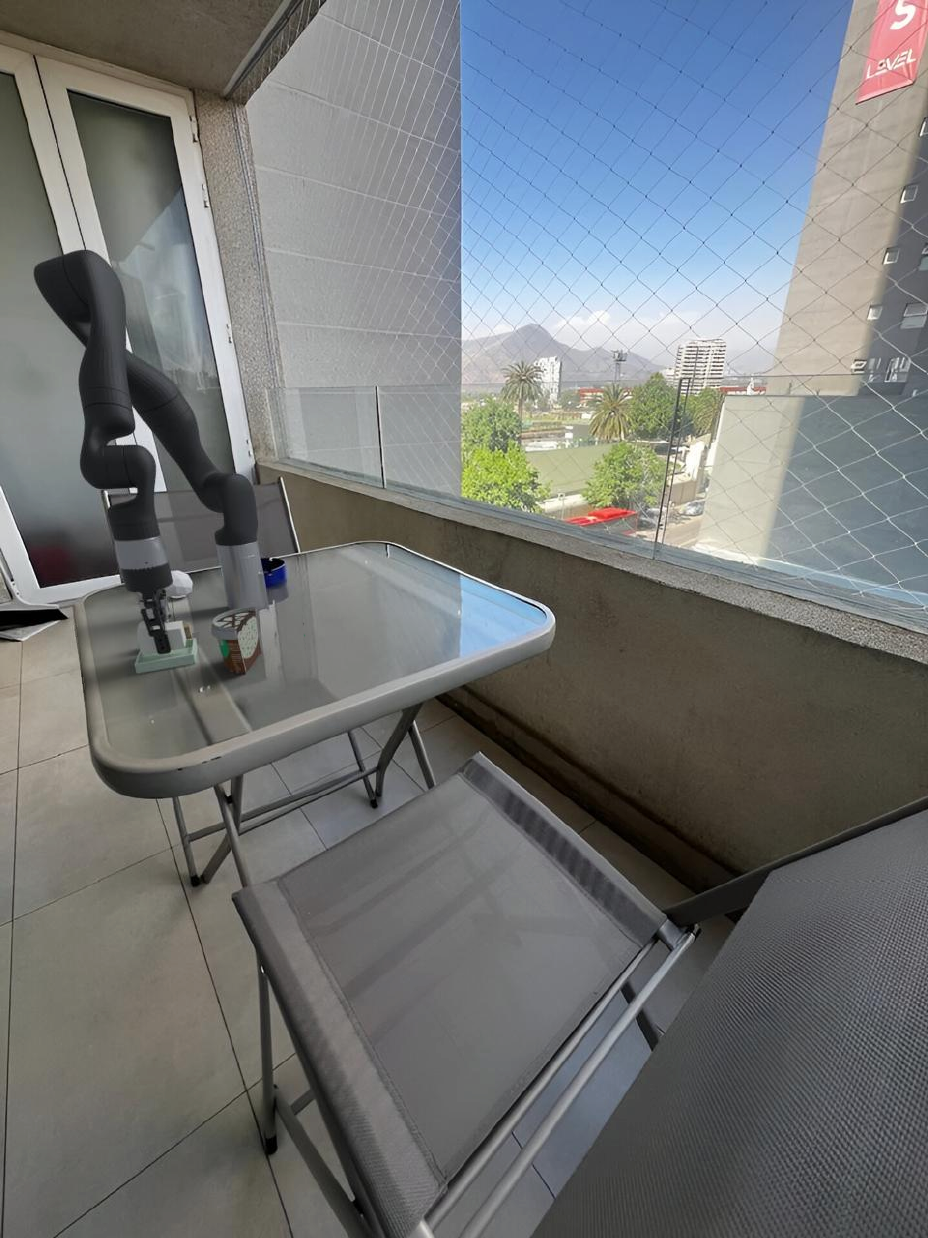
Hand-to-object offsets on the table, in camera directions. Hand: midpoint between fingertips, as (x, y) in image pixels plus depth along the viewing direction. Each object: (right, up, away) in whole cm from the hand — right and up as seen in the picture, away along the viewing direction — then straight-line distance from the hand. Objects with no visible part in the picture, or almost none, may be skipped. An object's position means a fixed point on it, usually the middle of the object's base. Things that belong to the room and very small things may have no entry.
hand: (166, 647), depth 94 cm
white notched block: (0, 0, 0) cm, 0 cm away
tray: (0, -2, +1) cm, 2 cm away
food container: (+14, -4, -1) cm, 15 cm away
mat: (-2, -1, +5) cm, 5 cm away
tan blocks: (-4, 0, +7) cm, 8 cm away
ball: (-20, +11, +39) cm, 46 cm away
